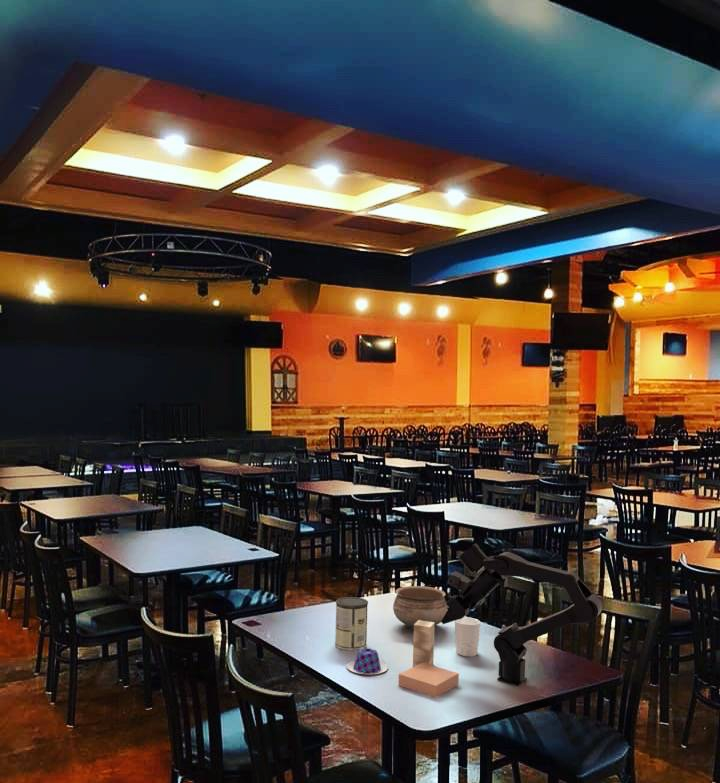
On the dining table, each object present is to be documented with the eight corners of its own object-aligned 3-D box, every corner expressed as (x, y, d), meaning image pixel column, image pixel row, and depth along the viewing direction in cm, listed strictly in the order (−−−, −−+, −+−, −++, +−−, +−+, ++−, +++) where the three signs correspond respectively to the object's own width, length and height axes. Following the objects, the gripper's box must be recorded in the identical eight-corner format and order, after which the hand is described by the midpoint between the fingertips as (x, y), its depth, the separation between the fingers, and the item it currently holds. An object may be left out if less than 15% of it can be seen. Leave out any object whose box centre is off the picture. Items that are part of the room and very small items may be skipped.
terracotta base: (458, 684, 196) (458, 673, 196) (435, 697, 186) (435, 685, 186) (422, 672, 203) (422, 662, 203) (398, 684, 194) (398, 674, 194)
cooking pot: (416, 642, 230) (418, 604, 230) (375, 628, 243) (376, 592, 244) (462, 627, 247) (464, 592, 248) (421, 614, 261) (422, 581, 261)
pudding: (359, 658, 214) (360, 641, 214) (394, 667, 208) (395, 649, 208) (338, 670, 203) (339, 652, 204) (374, 680, 197) (375, 661, 197)
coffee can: (343, 638, 232) (344, 595, 232) (371, 643, 227) (373, 599, 228) (328, 647, 222) (330, 602, 223) (358, 653, 218) (359, 607, 218)
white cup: (478, 658, 217) (479, 625, 217) (453, 655, 218) (454, 623, 218) (479, 650, 224) (480, 618, 225) (454, 647, 226) (455, 616, 226)
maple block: (433, 664, 210) (434, 622, 211) (429, 670, 206) (430, 627, 206) (417, 661, 212) (418, 620, 212) (412, 667, 207) (413, 624, 208)
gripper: (474, 558, 216) (441, 590, 221) (452, 569, 199) (417, 604, 204) (499, 586, 212) (465, 619, 217) (480, 600, 195) (443, 635, 200)
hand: (447, 618), depth 209 cm, fingers open, 9 cm apart
